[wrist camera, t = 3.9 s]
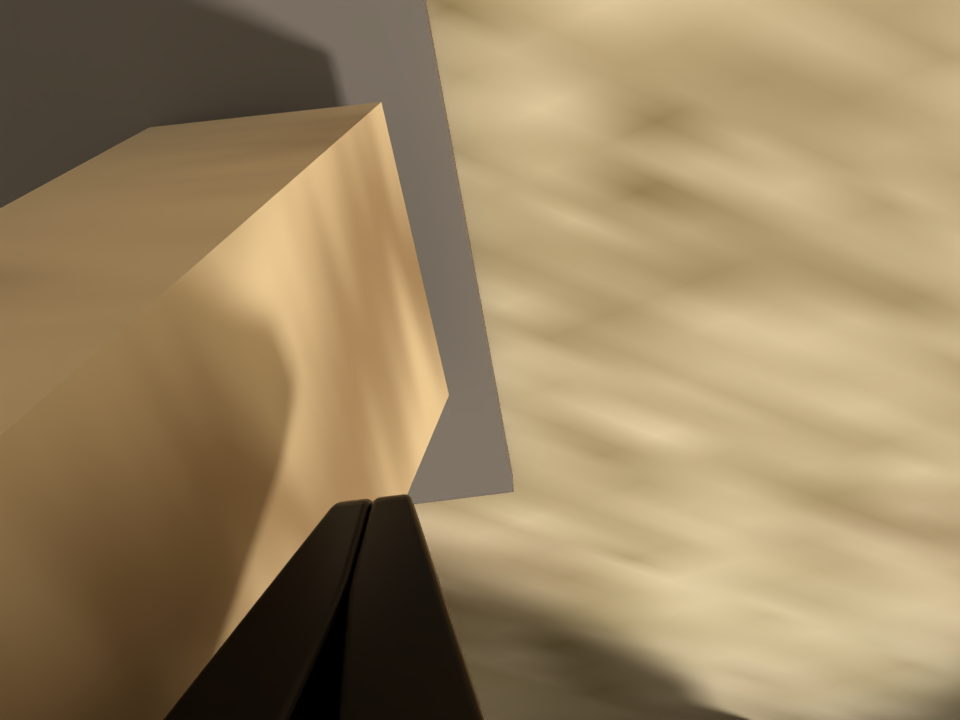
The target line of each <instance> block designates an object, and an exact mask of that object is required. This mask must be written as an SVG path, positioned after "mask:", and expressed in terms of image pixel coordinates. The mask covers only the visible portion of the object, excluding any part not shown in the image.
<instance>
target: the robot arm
mask: <svg viewBox="0 0 960 720" xmlns="http://www.w3.org/2000/svg"><path fill="white" fill-rule="evenodd" d="M163 720H485V718H484V715H483V712H482V709H481V706H480V703H479V700H478V697H477V694H476V691H475V688H474V685H473V682H472V679H471V676H470V673H469V670H468V667H467V663H466V660H465V657H464V654H463V651H462V648H461V645H460V642H459V639H458V636H457V633H456V630H455V627H454V624H453V621H452V618H451V615H450V612H449V609H448V606H447V603H446V600H445V597H444V594H443V591H442V588H441V585H440V582H439V579H438V576H437V573H436V570H435V567H434V564H433V561H432V558H431V555H430V552H429V549H428V546H427V543H426V540H425V537H424V534H423V531H422V528H421V525H420V522H419V519H418V516H417V513H416V510H415V507H414V504H413V501H412V498H411V497H410V496H409V495H407V494H401V495H393V496H384V497H378V498H376V499H375V500H374V501H372V500H370V499H359V500H351V501H342V502H338V503H336V504H335V505H333V506H332V507H331V508H330V509H329V511H328V512H327V513H326V514H325V516H324V517H323V518H322V519H321V521H320V522H319V523H318V524H317V526H316V527H315V528H314V530H313V531H312V532H311V533H310V535H309V536H308V537H307V538H306V540H305V541H304V542H303V543H302V545H301V546H300V547H299V549H298V550H297V551H296V552H295V554H294V555H293V556H292V557H291V559H290V560H289V561H288V562H287V564H286V565H285V566H284V567H283V569H282V570H281V571H280V573H279V574H278V575H277V576H276V578H275V579H274V580H273V581H272V583H271V584H270V585H269V586H268V588H267V589H266V590H265V591H264V593H263V594H262V595H261V597H260V598H259V599H258V600H257V602H256V603H255V604H254V605H253V607H252V608H251V609H250V610H249V612H248V613H247V614H246V616H245V617H244V618H243V619H242V621H241V622H240V623H239V624H238V626H237V627H236V628H235V629H234V631H233V632H232V633H231V634H230V636H229V637H228V638H227V640H226V641H225V642H224V643H223V645H222V646H221V647H220V648H219V650H218V651H217V652H216V653H215V655H214V656H213V657H212V658H211V660H210V661H209V662H208V664H207V665H206V666H205V667H204V669H203V670H202V671H201V672H200V674H199V675H198V676H197V677H196V679H195V680H194V681H193V682H192V684H191V685H190V686H189V688H188V689H187V690H186V691H185V693H184V694H183V695H182V696H181V698H180V699H179V700H178V701H177V703H176V704H175V705H174V707H173V708H172V709H171V710H170V712H169V713H168V714H167V715H166V717H165V718H164V719H163Z"/></svg>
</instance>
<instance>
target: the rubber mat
mask: <svg viewBox="0 0 960 720" xmlns="http://www.w3.org/2000/svg"><path fill="white" fill-rule="evenodd" d="M377 102H381V103H382V107H383V111H384V116H385V120H386V124H387V129H388V133H389V137H390V142H391V146H392V150H393V155H394V159H395V163H396V168H397V172H398V176H399V181H400V185H401V189H402V194H403V198H404V202H405V207H406V211H407V215H408V220H409V224H410V228H411V233H412V237H413V241H414V246H415V250H416V254H417V259H418V263H419V267H420V272H421V276H422V280H423V285H424V289H425V293H426V298H427V302H428V306H429V311H430V315H431V319H432V324H433V328H434V332H435V337H436V341H437V345H438V350H439V354H440V358H441V363H442V367H443V371H444V376H445V380H446V384H447V389H448V393H449V396H448V399H447V401H446V403H445V406H444V408H443V410H442V413H441V415H440V418H439V420H438V422H437V425H436V427H435V429H434V432H433V434H432V437H431V439H430V441H429V444H428V446H427V448H426V451H425V453H424V456H423V458H422V460H421V463H420V465H419V468H418V470H417V472H416V475H415V477H414V479H413V482H412V484H411V487H410V489H409V491H408V494H407V495H409V496H410V497H411V498H412V501H413V504H419V503H427V502H435V501H444V500H452V499H460V498H468V497H476V496H484V495H492V494H500V493H508V492H514V488H513V475H512V469H511V464H510V458H509V453H508V447H507V442H506V437H505V431H504V426H503V420H502V415H501V409H500V404H499V398H498V393H497V387H496V382H495V376H494V371H493V366H492V360H491V355H490V349H489V344H488V338H487V333H486V327H485V322H484V316H483V311H482V306H481V300H480V295H479V289H478V284H477V278H476V273H475V267H474V262H473V256H472V251H471V245H470V240H469V235H468V229H467V224H466V218H465V213H464V207H463V202H462V196H461V191H460V185H459V180H458V175H457V169H456V164H455V158H454V153H453V147H452V142H451V136H450V131H449V125H448V120H447V115H446V109H445V104H444V98H443V93H442V87H441V82H440V76H439V71H438V65H437V60H436V54H435V49H434V44H433V38H432V33H431V27H430V22H429V16H428V11H427V5H426V0H0V208H2V207H4V206H5V205H7V204H9V203H11V202H13V201H15V200H16V199H18V198H20V197H22V196H24V195H26V194H28V193H29V192H31V191H33V190H35V189H37V188H39V187H40V186H42V185H44V184H46V183H48V182H50V181H51V180H53V179H55V178H57V177H59V176H61V175H63V174H64V173H66V172H68V171H70V170H72V169H74V168H75V167H77V166H79V165H81V164H83V163H85V162H86V161H88V160H90V159H92V158H94V157H96V156H98V155H99V154H101V153H103V152H105V151H107V150H109V149H110V148H112V147H114V146H116V145H118V144H120V143H121V142H123V141H125V140H127V139H129V138H131V137H133V136H134V135H136V134H138V133H140V132H142V131H144V130H145V129H147V128H149V127H156V126H166V125H175V124H184V123H193V122H202V121H212V120H221V119H230V118H239V117H248V116H257V115H267V114H276V113H285V112H294V111H303V110H313V109H322V108H331V107H340V106H349V105H358V104H368V103H377Z"/></svg>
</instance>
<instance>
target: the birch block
mask: <svg viewBox="0 0 960 720" xmlns="http://www.w3.org/2000/svg"><path fill="white" fill-rule="evenodd" d="M448 396H449V393H448V389H447V384H446V380H445V376H444V371H443V367H442V363H441V358H440V354H439V350H438V345H437V341H436V337H435V332H434V328H433V324H432V319H431V315H430V311H429V306H428V302H427V298H426V293H425V289H424V285H423V280H422V276H421V272H420V267H419V263H418V259H417V254H416V250H415V246H414V241H413V237H412V233H411V228H410V224H409V220H408V215H407V211H406V207H405V202H404V198H403V194H402V189H401V185H400V181H399V176H398V172H397V168H396V163H395V159H394V155H393V150H392V146H391V142H390V137H389V133H388V129H387V124H386V120H385V116H384V111H383V107H382V103H381V102H377V103H368V104H358V105H349V106H340V107H331V108H322V109H313V110H303V111H294V112H285V113H276V114H267V115H257V116H248V117H239V118H230V119H221V120H212V121H202V122H193V123H184V124H175V125H166V126H156V127H149V128H147V129H145V130H144V131H142V132H140V133H138V134H136V135H134V136H133V137H131V138H129V139H127V140H125V141H123V142H121V143H120V144H118V145H116V146H114V147H112V148H110V149H109V150H107V151H105V152H103V153H101V154H99V155H98V156H96V157H94V158H92V159H90V160H88V161H86V162H85V163H83V164H81V165H79V166H77V167H75V168H74V169H72V170H70V171H68V172H66V173H64V174H63V175H61V176H59V177H57V178H55V179H53V180H51V181H50V182H48V183H46V184H44V185H42V186H40V187H39V188H37V189H35V190H33V191H31V192H29V193H28V194H26V195H24V196H22V197H20V198H18V199H16V200H15V201H13V202H11V203H9V204H7V205H5V206H4V207H2V208H0V720H163V719H164V718H165V717H166V715H167V714H168V713H169V712H170V710H171V709H172V708H173V707H174V705H175V704H176V703H177V701H178V700H179V699H180V698H181V696H182V695H183V694H184V693H185V691H186V690H187V689H188V688H189V686H190V685H191V684H192V682H193V681H194V680H195V679H196V677H197V676H198V675H199V674H200V672H201V671H202V670H203V669H204V667H205V666H206V665H207V664H208V662H209V661H210V660H211V658H212V657H213V656H214V655H215V653H216V652H217V651H218V650H219V648H220V647H221V646H222V645H223V643H224V642H225V641H226V640H227V638H228V637H229V636H230V634H231V633H232V632H233V631H234V629H235V628H236V627H237V626H238V624H239V623H240V622H241V621H242V619H243V618H244V617H245V616H246V614H247V613H248V612H249V610H250V609H251V608H252V607H253V605H254V604H255V603H256V602H257V600H258V599H259V598H260V597H261V595H262V594H263V593H264V591H265V590H266V589H267V588H268V586H269V585H270V584H271V583H272V581H273V580H274V579H275V578H276V576H277V575H278V574H279V573H280V571H281V570H282V569H283V567H284V566H285V565H286V564H287V562H288V561H289V560H290V559H291V557H292V556H293V555H294V554H295V552H296V551H297V550H298V549H299V547H300V546H301V545H302V543H303V542H304V541H305V540H306V538H307V537H308V536H309V535H310V533H311V532H312V531H313V530H314V528H315V527H316V526H317V524H318V523H319V522H320V521H321V519H322V518H323V517H324V516H325V514H326V513H327V512H328V511H329V509H330V508H331V507H332V506H333V505H335V504H336V503H338V502H342V501H351V500H359V499H370V500H372V501H374V500H375V499H376V498H378V497H384V496H393V495H401V494H408V491H409V489H410V487H411V484H412V482H413V479H414V477H415V475H416V472H417V470H418V468H419V465H420V463H421V460H422V458H423V456H424V453H425V451H426V448H427V446H428V444H429V441H430V439H431V437H432V434H433V432H434V429H435V427H436V425H437V422H438V420H439V418H440V415H441V413H442V410H443V408H444V406H445V403H446V401H447V399H448Z"/></svg>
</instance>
